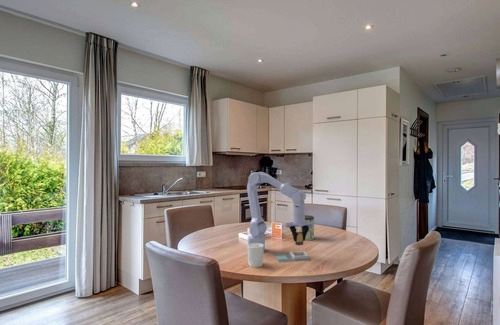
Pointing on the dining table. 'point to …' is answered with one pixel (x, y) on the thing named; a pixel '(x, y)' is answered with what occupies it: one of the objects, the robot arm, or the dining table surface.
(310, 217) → the coffee can
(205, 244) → the dining table surface
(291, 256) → the gray board
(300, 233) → the cell
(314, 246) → the dining table surface
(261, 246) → the white cup
